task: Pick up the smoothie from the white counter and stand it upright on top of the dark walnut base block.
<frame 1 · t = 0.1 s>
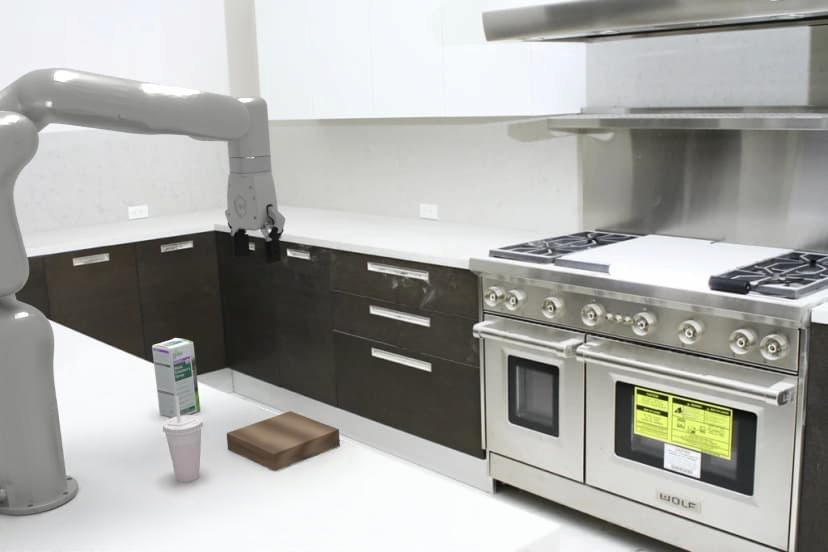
hand: (257, 258, 165), 31 cm above the counter, tool pointing down, fingers open, 9 cm apart
smoothie: (188, 478, 146), on the counter
walnut base: (283, 447, 157), on the counter
syrup box: (179, 413, 176), on the counter
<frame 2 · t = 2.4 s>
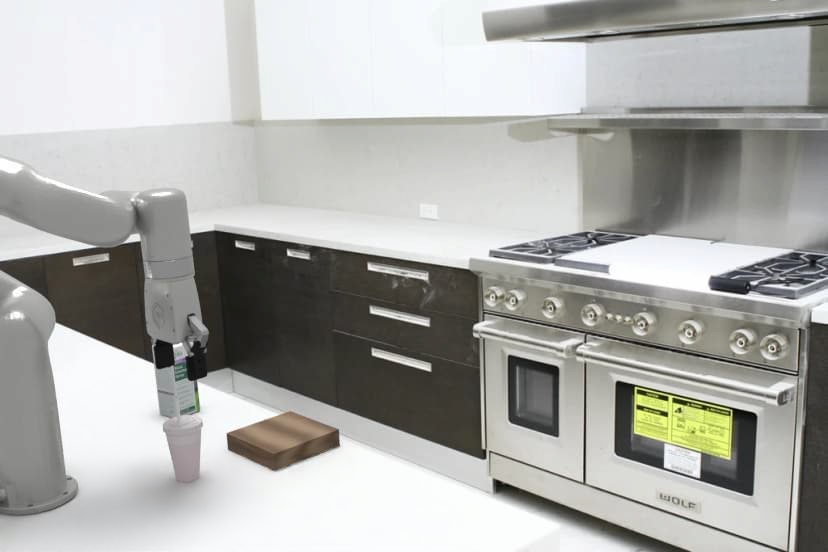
hand: (181, 372, 143), 18 cm above the counter, tool pointing down, fingers open, 9 cm apart
nothing on the counter moved.
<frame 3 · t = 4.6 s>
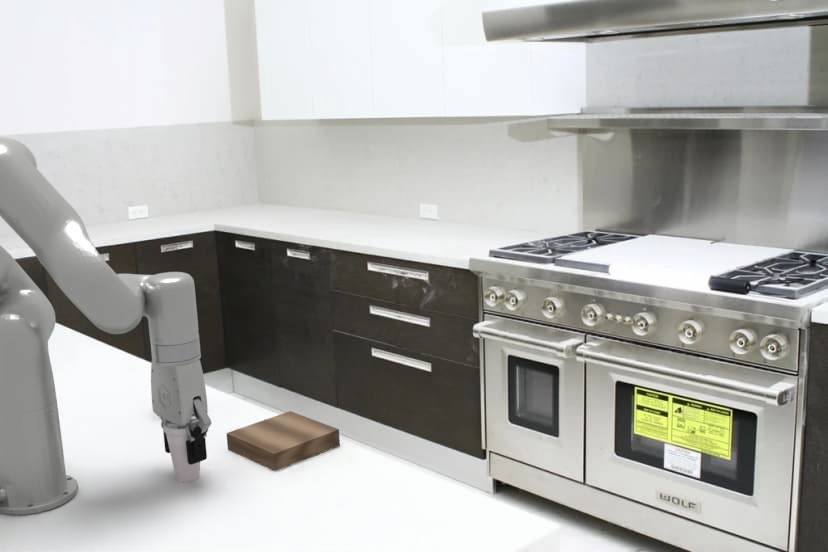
hand: (185, 455, 146), 4 cm above the counter, tool pointing down, fingers closed on smoothie, 6 cm apart
smoothie: (188, 478, 146), on the counter, touching gripper
everything else where it was.
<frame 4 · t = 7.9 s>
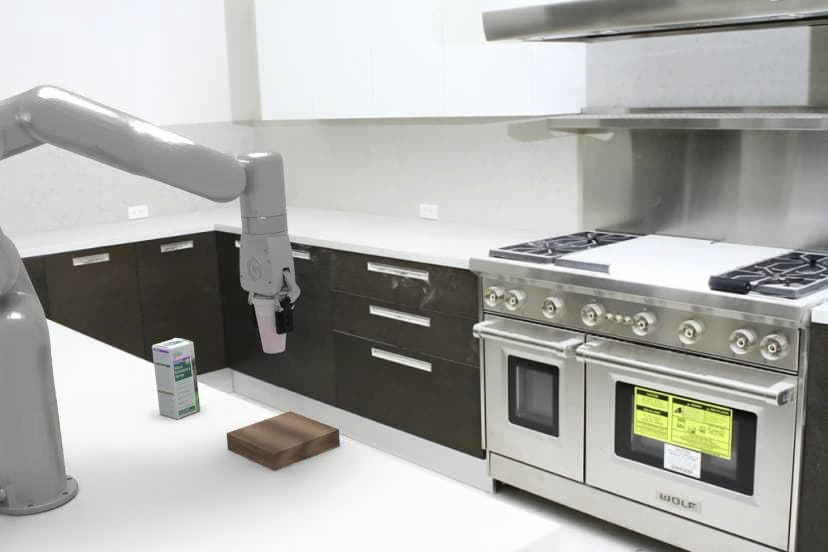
hand: (272, 328, 152), 22 cm above the counter, tool pointing down, fingers closed on smoothie, 6 cm apart
smoothie: (274, 351, 153), point 18 cm above the counter, touching gripper
everything else where it was.
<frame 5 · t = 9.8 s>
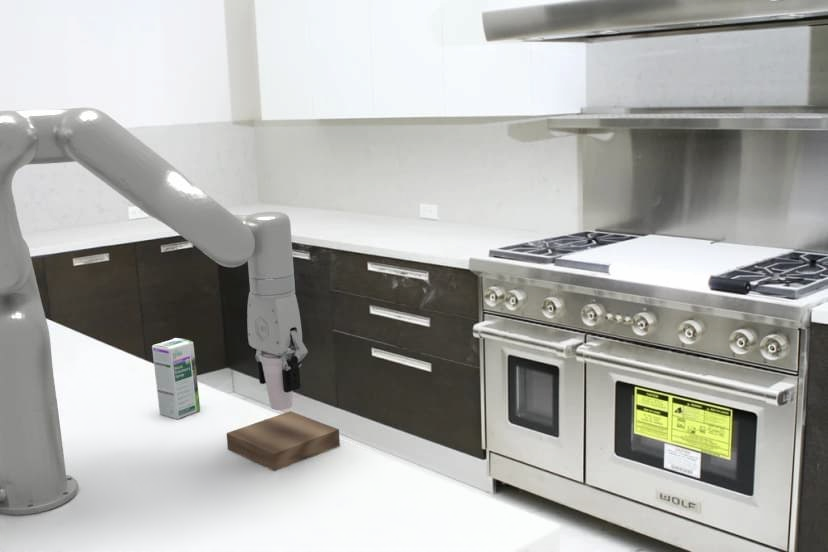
hand: (279, 385, 155), 11 cm above the counter, tool pointing down, fingers closed on smoothie, 6 cm apart
smoothie: (281, 407, 156), point 7 cm above the counter, touching gripper
everything else where it was.
when the fingers open (8 cm above the counter, at t = 11.3 s): smoothie drops 1 cm, resting on walnut base.
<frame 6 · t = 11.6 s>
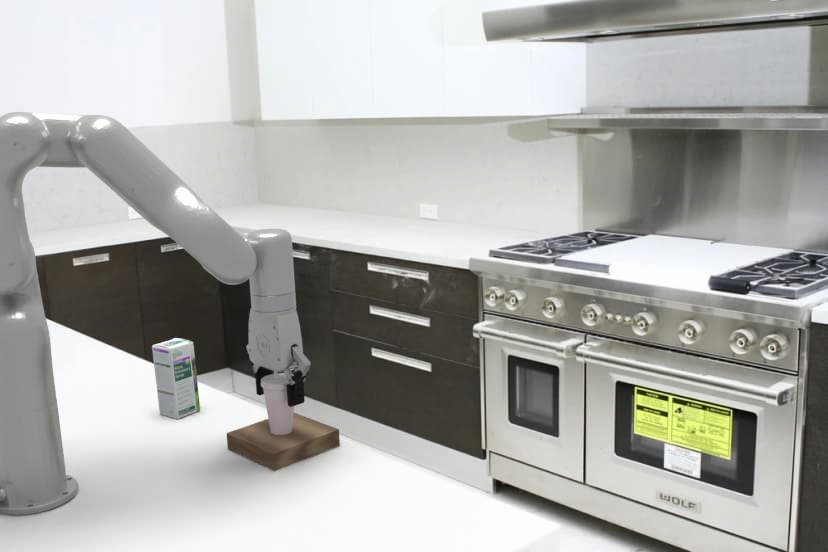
hand: (280, 398, 155), 9 cm above the counter, tool pointing down, fingers open, 8 cm apart
smoothie: (281, 432, 157), point 3 cm above the counter, touching walnut base
everything else where it was.
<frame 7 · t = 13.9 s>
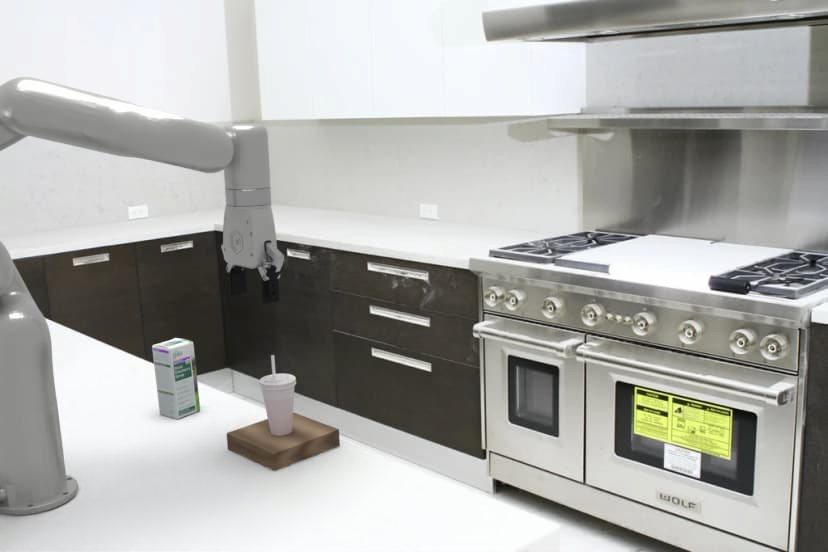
hand: (254, 298, 153), 27 cm above the counter, tool pointing down, fingers open, 9 cm apart
nothing on the counter moved.
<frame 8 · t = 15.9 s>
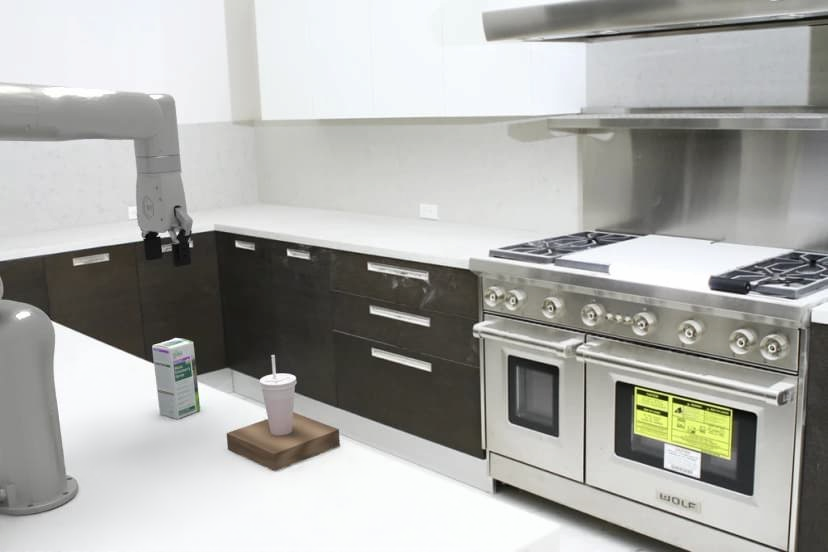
hand: (167, 262, 159), 32 cm above the counter, tool pointing down, fingers open, 9 cm apart
nothing on the counter moved.
at the end: smoothie inside the target area on the walnut base (0.2 cm from its centre), point 2.8 cm above the walnut base's base; smoothie tilted 0°; smoothie touching walnut base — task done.
